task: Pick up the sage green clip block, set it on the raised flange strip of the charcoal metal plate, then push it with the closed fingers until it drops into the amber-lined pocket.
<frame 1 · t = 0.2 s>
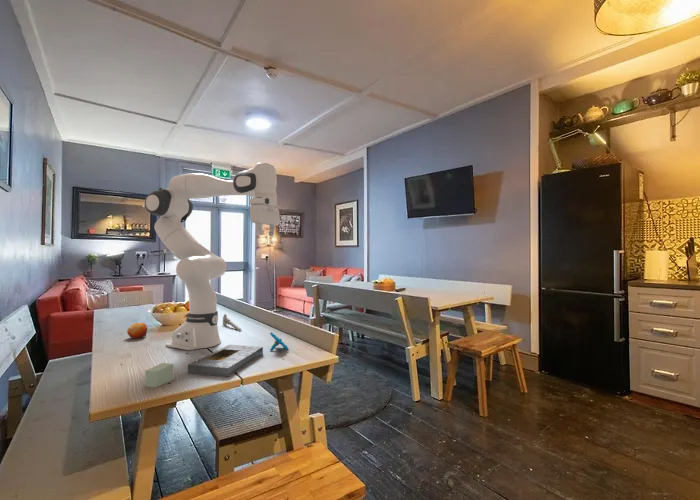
hand: (266, 235, 140), 48 cm above the table, tool pointing down, fingers open, 8 cm apart
fruit: (137, 338, 159), on the table
clip block: (159, 382, 106), on the table
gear: (279, 350, 140), on the table
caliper: (232, 328, 178), on the table
pocket plate: (228, 363, 123), on the table
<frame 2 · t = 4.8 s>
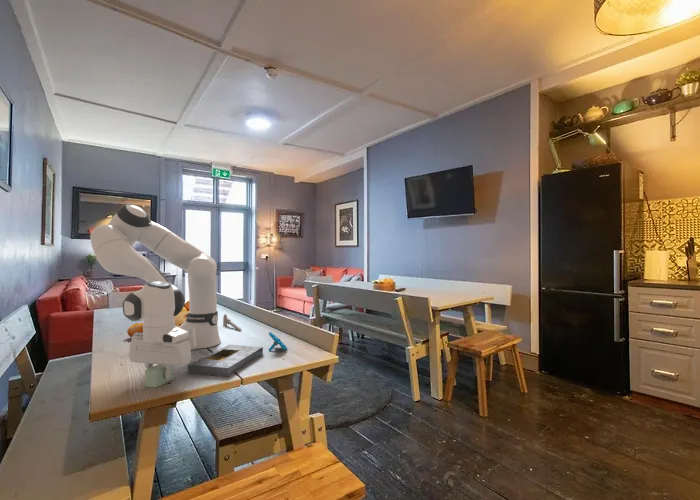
hand: (159, 377, 106), 2 cm above the table, tool pointing down, fingers closed on clip block, 4 cm apart
clip block: (159, 382, 106), on the table, touching gripper
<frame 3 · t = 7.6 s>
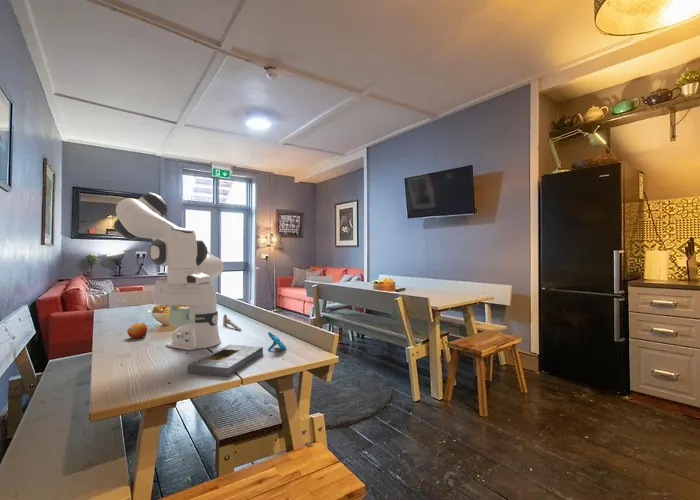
hand: (182, 319, 110), 19 cm above the table, tool pointing down, fingers closed on clip block, 4 cm apart
clip block: (182, 324, 110), point 17 cm above the table, touching gripper
when the fingers open (6 cm above the table, at t = 11.6 s): clip block drops 1 cm, resting on pocket plate.
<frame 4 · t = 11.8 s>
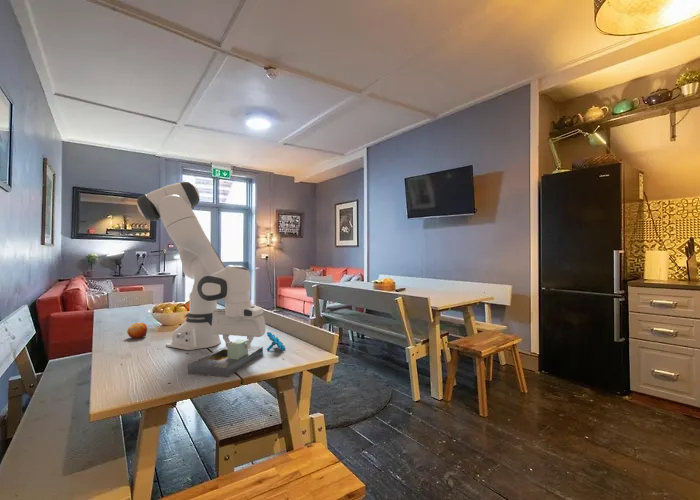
hand: (238, 347, 122), 6 cm above the table, tool pointing down, fingers open, 6 cm apart
clip block: (238, 355, 122), point 3 cm above the table, touching pocket plate
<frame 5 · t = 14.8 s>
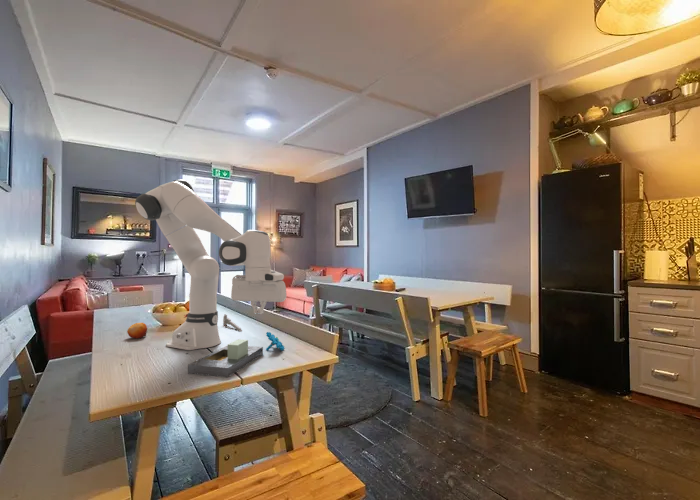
hand: (258, 313, 120), 19 cm above the table, tool pointing down, fingers closed
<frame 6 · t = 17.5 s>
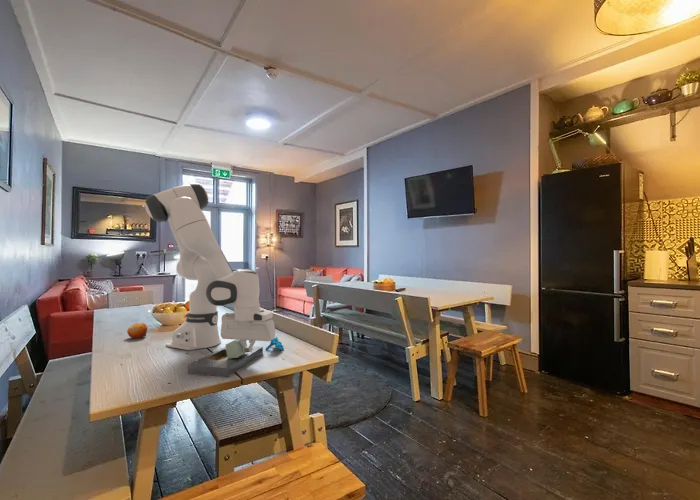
hand: (247, 351, 122), 5 cm above the table, tool pointing down, fingers closed
clip block: (238, 354, 122), point 3 cm above the table, tilted 10°, touching gripper, pocket plate
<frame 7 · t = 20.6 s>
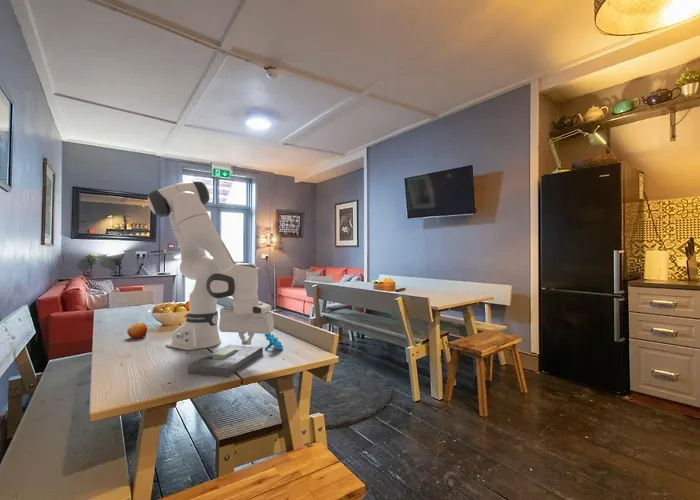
hand: (246, 344, 123), 7 cm above the table, tool pointing down, fingers closed
clip block: (230, 357, 123), point 2 cm above the table, tilted 90°, touching pocket plate
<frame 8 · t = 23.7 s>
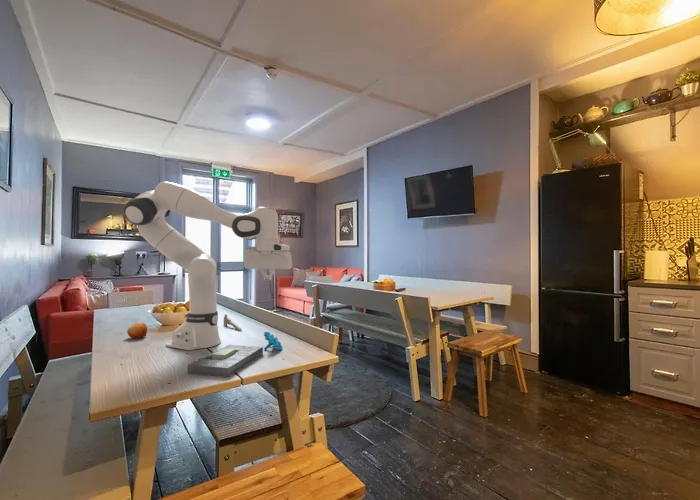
hand: (267, 280, 139), 29 cm above the table, tool pointing down, fingers closed
at the end: clip block inside the target area on the pocket plate (3.8 cm from its centre), point 2.2 cm above the pocket plate's base; the gripper is holding nothing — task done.
